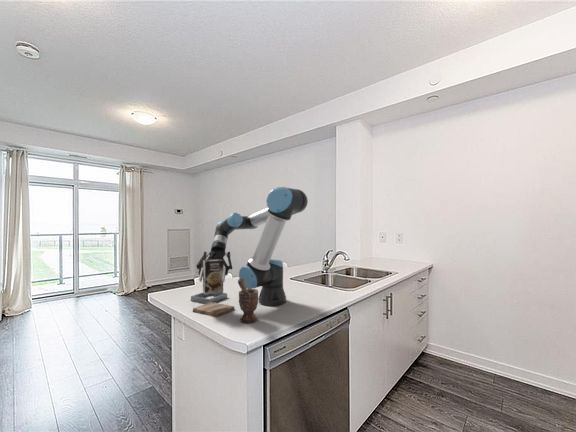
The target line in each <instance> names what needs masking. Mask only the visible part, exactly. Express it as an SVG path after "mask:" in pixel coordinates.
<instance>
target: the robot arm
mask: <svg viewBox="0 0 576 432" xmlns="http://www.w3.org/2000/svg"><path fill="white" fill-rule="evenodd" d="M265 202H266V203H267V204H266V208H264V209H261V210H259V211H256V212H254V213H252V214H249V215H247V216H243V215H241V214H240V213H238V212H232V213H231V214H230V215H228V216H227V217H226V219H224V220H220V221H219V222H218V223H217V224H216V227H215V232H214V236H213V239H212V244H211V248H210V251H209V252H207V251H203V255H202V257H201V258H200V260H199V261H198V263H197V264H196V269H197V270H198V280H199V282H200V283H203V260H214V259H221V260H223V261H224V271H223V276H222V281H223V283H225V281H226V276H228V274H229V270H233V265H232V260H231V251H227V252H226V249H227V245H228V239H229V238H228V237H229V235H230V234H232V232H234V231H235V230H255V229H257V228H258V227H259V226H262V225H264V228H263V230H262V233H261V236H260V238H259V239H258V243H257V245H256V248H255V250H254V253H253V255H252V256H251V257H249V258H248V261H247V263H246V265H243V266H241V267H240V268H239V271H238V280H239V279H241V278H242V279H244V280H245V283H246V288H247V289H256V288H261V290H260V292H259V294H258V304H260V305H262V306H267V307H268V306H269V307H270V306H271V307H272V306H280V305H284V304H285V303H287V296H286V292H285V290H284V265H283V264H284V263H283V261H282V260H280V259H272V257H273V254H274V251H275V249H276V247H277V244H278V242H279V240H280V237H281V234H282V232H283V229H284V227H285V225H286V222H288V221H290V220H291V218H292V216H293V215H297V214H299V213H301V212H303V211H304V210H306V208H307V207H308V203H309V202H308V196H307V195H306V193H305V192H304V191H302V190H301V189H297V188H291V187H286V186H277V187H275V188H272V189H271V190H270V191H269V193H268V194H267V197H266V200H265ZM225 256H226V257H227V261H228V263H227V262H226V261H225V258H224V257H225Z"/></svg>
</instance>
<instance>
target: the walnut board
mask: <svg viewBox="0 0 576 432" xmlns="http://www.w3.org/2000/svg"><path fill="white" fill-rule="evenodd" d="M234 310H235V306H234V305H228V304H225V303H219V302H218V303H217V302H215V303H214V302H209V303H207V304H204V303H203V304H201V305H198V306H196V307H193V308H192V312H193V313H199V314H202V315H207V316H211V317H216V318H219V317H221V316H223V315H225V314H228V313H229V312H230V313H231V312H232V311H234Z"/></svg>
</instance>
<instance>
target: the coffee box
mask: <svg viewBox="0 0 576 432" xmlns="http://www.w3.org/2000/svg"><path fill="white" fill-rule="evenodd" d="M224 268H225V266H224V261H223V260H221V259H214V260H207V259H206V260H203V278H202V293H204V294H205V295H208V294H216V293H224V282H223V281H222V276H223V271H224Z"/></svg>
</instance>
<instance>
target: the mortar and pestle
mask: <svg viewBox="0 0 576 432" xmlns="http://www.w3.org/2000/svg"><path fill="white" fill-rule="evenodd" d="M237 284H238V286H239V287H240V290H239V291H238V303H239V304H238V305H239V308H240V310H241V311H242V312H243V314H242V315H241V317H240V319H239V321H240V322H242V323H244V324H253V323H256V322H257V321H258V317H257V315H256V314H255V311H256V310H257V307H258V304H259V290H258V289H256V288H254V289H247V288H246V283H245V280H244V279H242V278H241V279H239V278H238V280H237Z"/></svg>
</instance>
